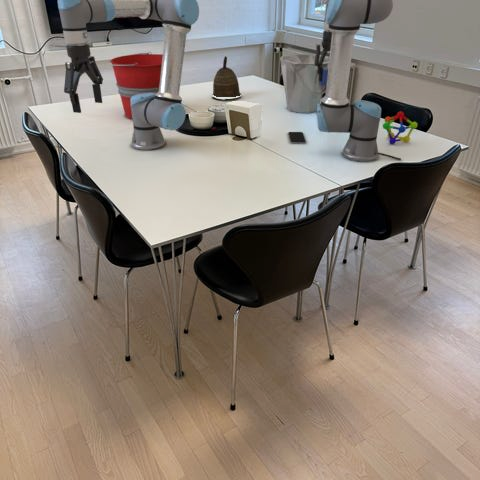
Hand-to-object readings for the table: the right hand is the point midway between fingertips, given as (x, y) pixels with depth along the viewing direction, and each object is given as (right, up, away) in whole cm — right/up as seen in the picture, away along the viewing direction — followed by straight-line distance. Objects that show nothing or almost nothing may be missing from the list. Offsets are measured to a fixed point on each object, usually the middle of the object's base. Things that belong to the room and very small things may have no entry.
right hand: (326, 80), depth 226 cm
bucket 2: (-7, -4, +34) cm, 35 cm away
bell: (-53, +9, +56) cm, 77 cm away
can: (0, -2, +1) cm, 2 cm away
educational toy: (+30, -35, -15) cm, 49 cm away
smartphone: (-16, -32, -10) cm, 37 cm away
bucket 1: (-96, -11, +24) cm, 100 cm away
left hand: (-99, -33, -65) cm, 123 cm away
